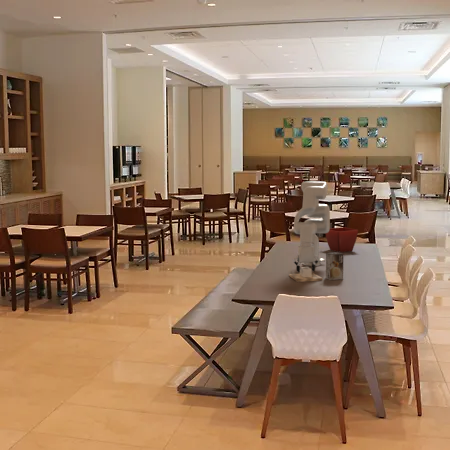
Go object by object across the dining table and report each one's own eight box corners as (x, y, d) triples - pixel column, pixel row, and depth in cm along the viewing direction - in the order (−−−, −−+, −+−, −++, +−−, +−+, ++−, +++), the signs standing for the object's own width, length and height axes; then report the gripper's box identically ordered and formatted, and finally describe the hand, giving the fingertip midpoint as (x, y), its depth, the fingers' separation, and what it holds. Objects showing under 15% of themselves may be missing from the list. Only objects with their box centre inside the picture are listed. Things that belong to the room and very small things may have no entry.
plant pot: (323, 249, 487) (324, 228, 485) (343, 247, 495) (344, 226, 493) (337, 253, 470) (338, 231, 468) (358, 251, 478) (358, 230, 476)
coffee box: (338, 277, 388) (339, 252, 386) (343, 279, 382) (344, 253, 380) (325, 278, 386) (325, 252, 384) (329, 280, 380) (330, 254, 377)
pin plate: (313, 275, 394) (313, 265, 394) (322, 280, 379) (322, 270, 378) (289, 276, 391) (289, 266, 390) (297, 281, 375) (297, 272, 375)
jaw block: (307, 274, 389) (307, 266, 388) (311, 276, 382) (311, 269, 381) (299, 275, 388) (299, 267, 387) (303, 277, 381) (303, 269, 380)
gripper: (317, 242, 388) (316, 269, 390) (290, 243, 384) (290, 270, 386) (321, 244, 380) (321, 272, 383) (294, 245, 377) (294, 273, 379)
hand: (305, 271), depth 385 cm, fingers open, 9 cm apart
